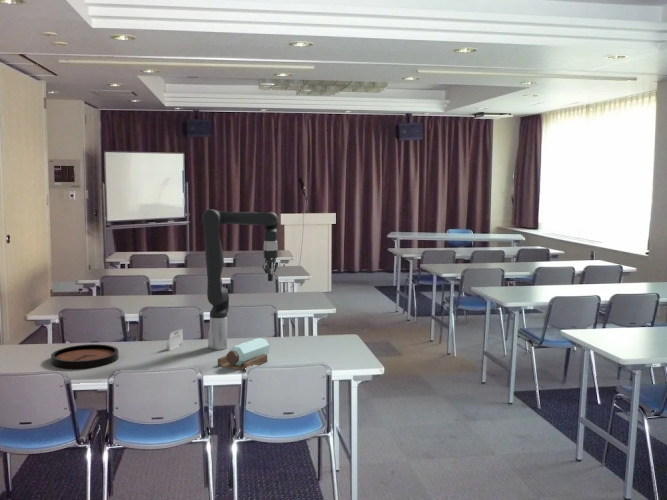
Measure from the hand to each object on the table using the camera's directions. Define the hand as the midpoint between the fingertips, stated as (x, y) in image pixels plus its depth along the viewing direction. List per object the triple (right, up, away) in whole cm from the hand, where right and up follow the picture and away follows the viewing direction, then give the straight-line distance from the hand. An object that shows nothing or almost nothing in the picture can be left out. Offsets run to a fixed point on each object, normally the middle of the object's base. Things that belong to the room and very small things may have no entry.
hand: (270, 280), depth 338 cm
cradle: (-11, -40, -26) cm, 49 cm away
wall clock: (-90, -39, -25) cm, 101 cm away
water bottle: (-2, -33, -14) cm, 36 cm away
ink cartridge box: (-52, -37, 0) cm, 63 cm away
